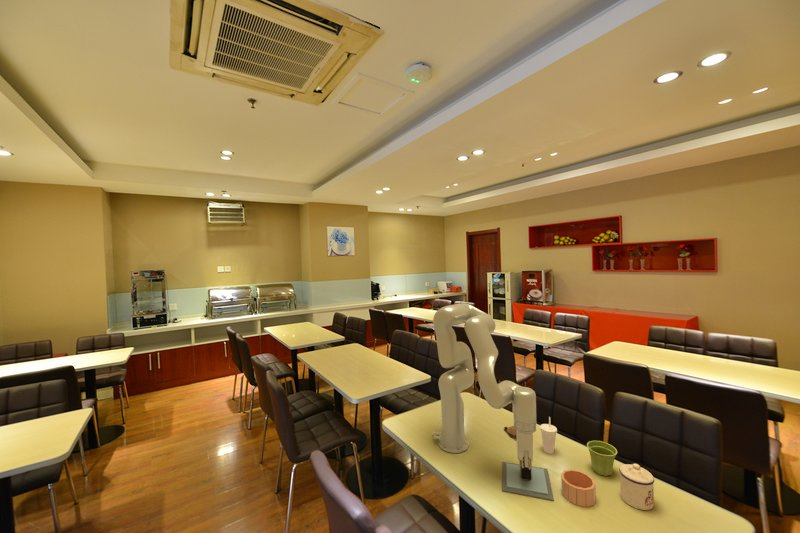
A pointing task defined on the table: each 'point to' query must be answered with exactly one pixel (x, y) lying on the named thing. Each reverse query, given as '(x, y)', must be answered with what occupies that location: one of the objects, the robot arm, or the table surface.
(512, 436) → the bread roll
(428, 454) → the table surface
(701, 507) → the table surface
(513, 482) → the cover sheet
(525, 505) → the table surface
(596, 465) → the plant pot
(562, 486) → the bowl
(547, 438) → the smoothie
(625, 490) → the teacup with lid
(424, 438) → the table surface
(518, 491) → the mat
